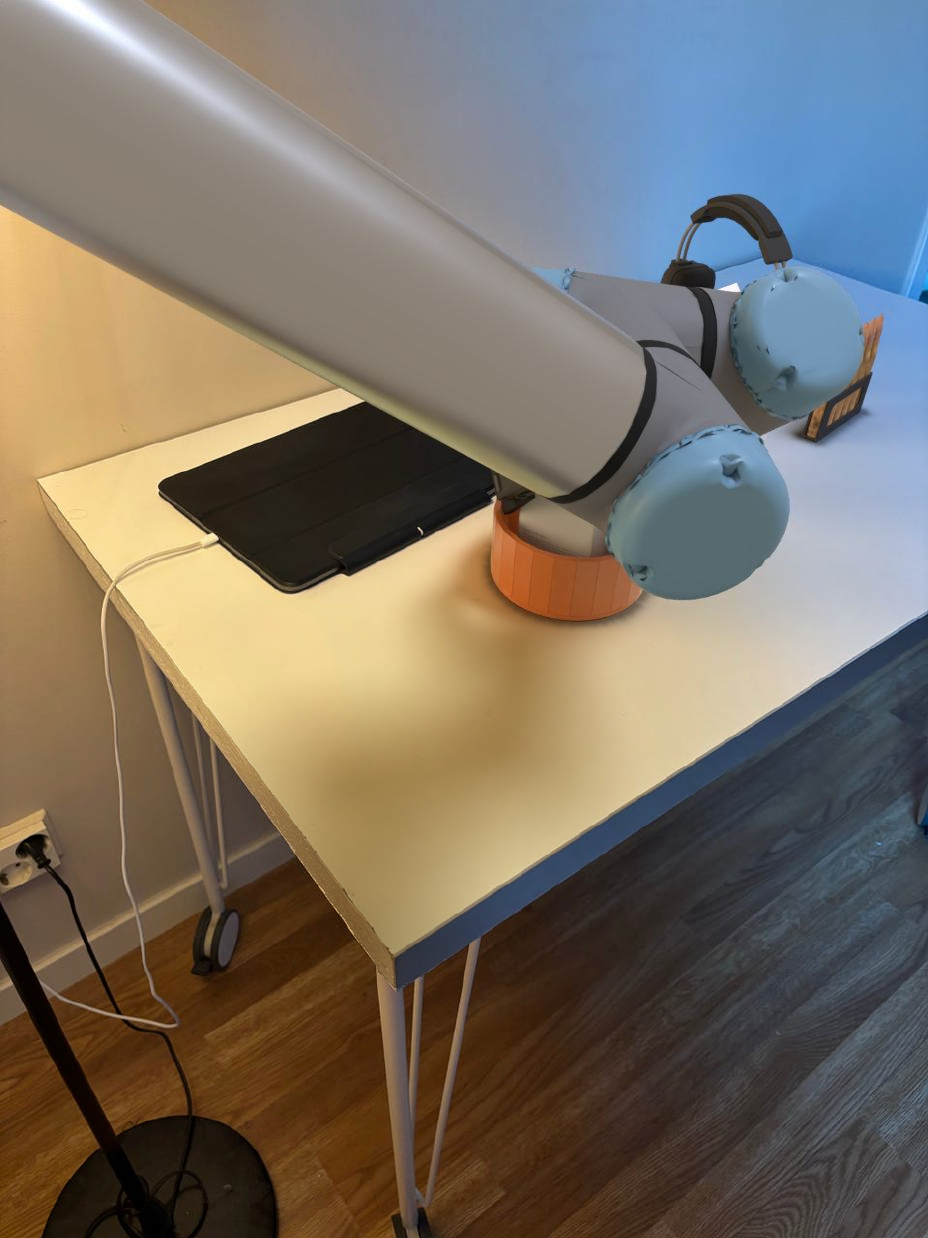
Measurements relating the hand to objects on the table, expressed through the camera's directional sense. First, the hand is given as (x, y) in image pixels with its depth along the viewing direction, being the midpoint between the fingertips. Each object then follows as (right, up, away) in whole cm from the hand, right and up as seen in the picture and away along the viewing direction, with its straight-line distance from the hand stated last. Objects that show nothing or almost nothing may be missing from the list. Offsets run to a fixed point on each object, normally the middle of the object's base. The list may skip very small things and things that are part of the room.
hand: (562, 489), depth 85 cm
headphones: (+23, +21, +37) cm, 48 cm away
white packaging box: (+1, -7, +2) cm, 7 cm away
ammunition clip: (+34, +11, +25) cm, 44 cm away
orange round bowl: (+1, -7, +3) cm, 8 cm away
